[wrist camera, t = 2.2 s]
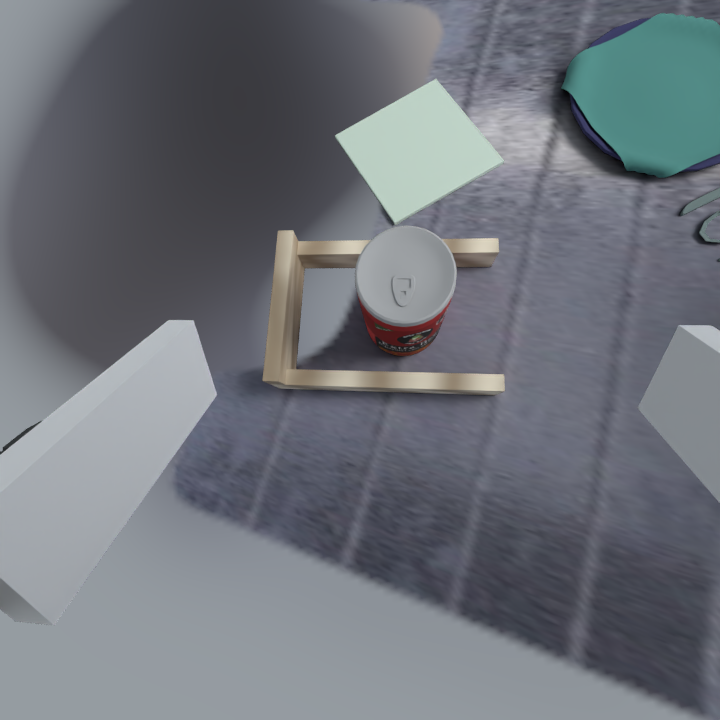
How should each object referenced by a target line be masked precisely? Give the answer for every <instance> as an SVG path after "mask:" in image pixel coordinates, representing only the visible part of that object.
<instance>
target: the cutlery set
mask: <svg viewBox="0 0 720 720" xmlns="http://www.w3.org/2000/svg"><path fill="white" fill-rule="evenodd" d="M564 89H565V90H567V91H568V92H569V93H570V100H571V109H572V112H573V114H574V116H575V118H576V120H577V122H578V124H579V126H580V128H581V130H582V131H583V133H584V134H585V135H586V136H587V137H588V138H589V139H590V140H591V141H592V142H593V143H595V144H596V145H597V146H598V147H599V148H600V149H601V150H602V151H603V152H604V153H606V154H608V155H610V156H612V157H614V158H616V159H618V160H620V161H622V162H623V163H624V166H625V169H626V170H628V171H636V172H638V173H646V174H648V175H655V176H657V177H658V178H661V177H668V176H671V175H674V174H676V173H678V172H686V171H698V170H701V169H704V168H707V167H710V166H713V165H716V164H720V26H719V25H718V23H717V22H715V21H713V20H705V19H704V18H703V17H700V18H695V17H693V16H687V17H685V16H684V15H675V14H674V13H671V14H665V13H661V14H658V15H656V16H654V17H652V18H646V19H639V20H636V21H633V22H630V23H627V24H624V25H622V26H619V27H616V28H613V29H612V30H610V31H609V32H607V33H606V34H604V35H603V36H601V37H600V38H599V39H597V40H596V41H594V42H593V43H591V45H590V46H589V47H588V49H586V50H584V51H582V52H581V53H579V54H578V55H577V56H576V57H575V58H574V59H573V60H572V61H571V63H570V64H569V66H568V68H567V73H566V77H565V81H564V83H563V85H562V88H561V90H564ZM718 198H720V188H719V189H716V190H714V191H712V192H710V193H708V194H706V195H704V196H702V197H700V198H698V199H696V200H694V201H692V202H691V203H689V204H688V205H686V206H685V207H684V208H683V210H682V211H681V213H680V215H681V216H683V215H685V214H687V213H689V212H691V211H693V210H695V209H697V208H699V207H701V206H703V205H705V204H707V203H709V202H711V201H714V200H716V199H718ZM719 215H720V211H717V212H716V213H715V214H713V215H712V216H711V217H709V218H708V219H707V220H706V221H704V223H703V226H702V228H701V230H700V232H699V233H700V235H701V236H702V237H703V238H704V240H705V241H708V242H719V243H720V240H715V239H710V238H709V237H708V236H707V234H706V233H705V230H706V227H707V225H708V223H709V222H710V221H711V220H713V219H714V218H715V217H717V216H719ZM718 261H719V262H720V259H719V260H718Z"/></svg>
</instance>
